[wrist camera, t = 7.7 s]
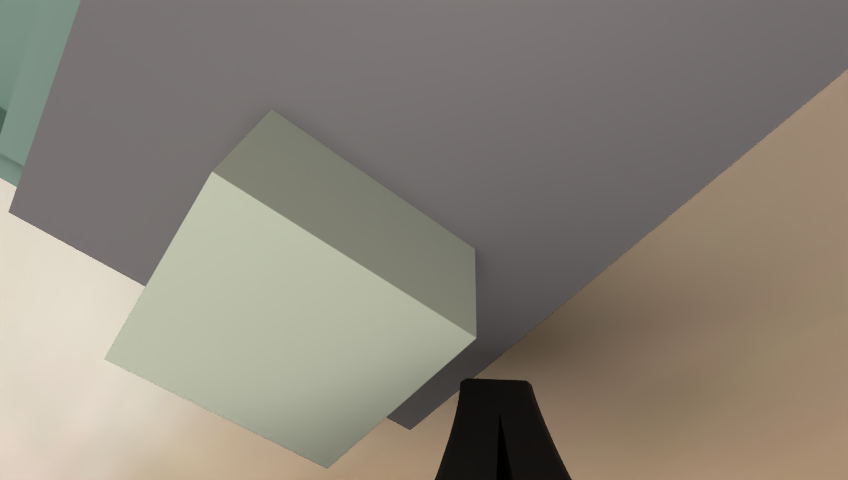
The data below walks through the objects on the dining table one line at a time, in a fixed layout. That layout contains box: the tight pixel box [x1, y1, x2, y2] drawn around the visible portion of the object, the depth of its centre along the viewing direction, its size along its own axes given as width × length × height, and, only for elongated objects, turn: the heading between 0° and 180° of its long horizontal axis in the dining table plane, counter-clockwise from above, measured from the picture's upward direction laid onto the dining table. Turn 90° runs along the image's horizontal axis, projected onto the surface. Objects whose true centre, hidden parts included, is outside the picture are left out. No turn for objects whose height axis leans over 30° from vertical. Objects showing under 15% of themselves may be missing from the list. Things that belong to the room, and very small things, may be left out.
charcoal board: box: [9, 0, 848, 430], centre depth 10 cm, size 10×14×2 cm
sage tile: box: [104, 110, 476, 469], centre depth 10 cm, size 4×4×2 cm
